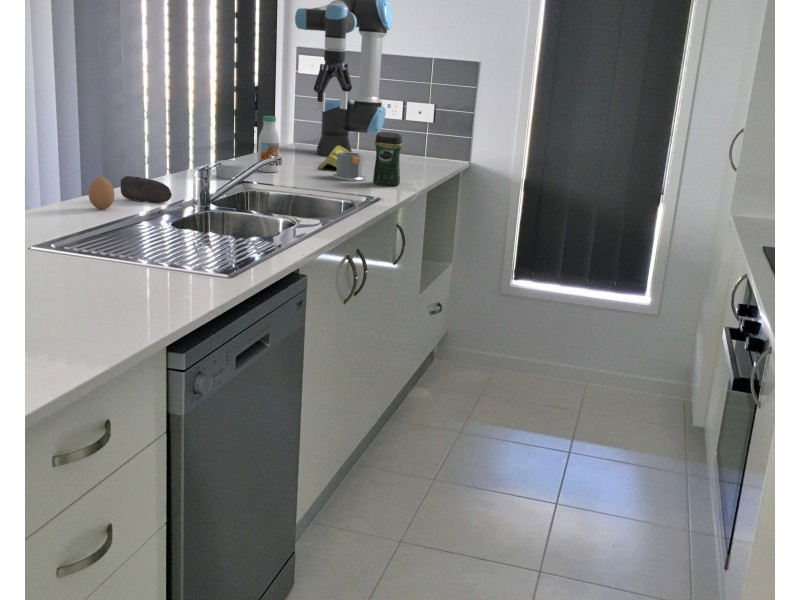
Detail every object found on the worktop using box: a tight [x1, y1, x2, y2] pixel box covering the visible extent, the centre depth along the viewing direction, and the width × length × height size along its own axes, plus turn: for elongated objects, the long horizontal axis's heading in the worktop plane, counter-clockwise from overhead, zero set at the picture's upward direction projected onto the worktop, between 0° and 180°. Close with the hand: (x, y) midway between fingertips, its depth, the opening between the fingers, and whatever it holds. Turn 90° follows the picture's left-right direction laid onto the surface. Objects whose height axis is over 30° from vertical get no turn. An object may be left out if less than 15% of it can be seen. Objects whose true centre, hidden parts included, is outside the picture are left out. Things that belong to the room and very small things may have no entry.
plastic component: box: [318, 146, 349, 170], centre depth 336 cm, size 20×7×10 cm
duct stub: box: [332, 173, 366, 182], centre depth 312 cm, size 12×12×8 cm
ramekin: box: [214, 159, 248, 180], centre depth 297 cm, size 11×11×5 cm
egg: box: [88, 176, 116, 210], centre depth 234 cm, size 7×7×9 cm
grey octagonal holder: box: [335, 152, 363, 178], centre depth 311 cm, size 8×11×8 cm
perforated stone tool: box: [119, 175, 173, 203], centre depth 248 cm, size 15×5×7 cm, turn 80°
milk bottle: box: [257, 115, 280, 173], centre depth 312 cm, size 8×8×20 cm
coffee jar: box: [372, 131, 403, 187], centre depth 304 cm, size 10×8×19 cm
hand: (332, 110), depth 314 cm, fingers open, 13 cm apart
